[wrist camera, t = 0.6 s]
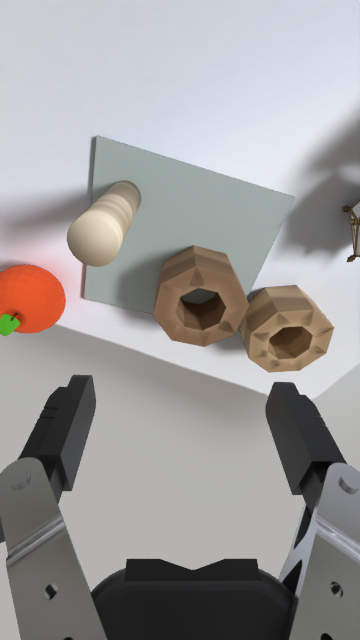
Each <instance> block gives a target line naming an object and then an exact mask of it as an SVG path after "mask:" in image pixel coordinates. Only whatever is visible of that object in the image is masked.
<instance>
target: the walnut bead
mask: <svg viewBox="0 0 360 640" xmlns="http://www.w3.org/2000/svg"><path fill="white" fill-rule="evenodd" d="M197 288H202V289H206V290H210V291H214V292H216V294H215V296H214V298H212V299H209V300H207V301H205V302H203V303H201V304H195V303H191V302H186V301H183V299H182V298H181V296H183V295H185V294H187V293H189V292H191V291H193V290H195V289H197ZM248 307H249V303H248V300H247V298H246V295H245V293H244V290H243V288H242V286H241V283H240V281H239V279H238V277H237V275H236V273H235V271H234V269H233V267H232V264H231V262H230V260H229V258H228V256H227V254H225V253H221V252H218V251H214V250H210V249H206V248H202V247H199V246H195V245H192V246H191V247H189V248H187V249H185V250H183V251H181V252H180V253H178V254H176V255H174V256H172V257H171V258H169V259H167V260H165V261H163V264H162V268H161V272H160V276H159V280H158V284H157V288H156V294H155V302H154V310H153V317H154V318H155V319H156V321H157V322H158V323H159V325H160V326H161V327H162V328H163V330H164V331H165V332H166V334H167V335H168V336H169V338H170V339H171V340H173V341H178V342H183V343H188V344H193V345H198V346H203V347H205V346H207V345H210V344H212V343H214V342H217V341H219V340H221V339H224V338H226V337H228V336H231V335H233V334H235V333H236V331H237V329H238V327H239V325H240V323H241V321H242V319H243V317H244V315H245V313H246V311H247V309H248Z"/></svg>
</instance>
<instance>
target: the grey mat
mask: <svg viewBox="0 0 360 640" xmlns="http://www.w3.org/2000/svg"><path fill="white" fill-rule="evenodd" d="M122 180H127V181H130V182H132V183H134V184H135V185H136V186H137V187H138V189H139V191H140V193H141V204H140V206H139V208H138V211H137V213H136V215H135V217H134V219H133V221H132V224H131V226H130V228H129V230H128V232H127V234H126V236H125V239H124V241H123V243H122V245H121V247H120V249H119V252H118V254H117V256H116V258H115V259H114V260H113V261H112V262H111V263H109V264H108V265H105V266H101V267H93V266H89V265H87V266H86V279H85V292H84V299H85V300H90V301H95V302H99V303H104V304H109V305H113V306H118V307H122V308H127V309H132V310H136V311H141V312H146V313H150V314H153V310H154V302H155V294H156V288H157V284H158V280H159V276H160V272H161V268H162V264H163V261H165V260H167V259H169V258H171V257H172V256H174V255H176V254H178V253H180V252H181V251H183V250H185V249H187V248H189V247H191V246H192V245H195V246H199V247H202V248H206V249H210V250H214V251H218V252H221V253H225V254H227V256H228V258H229V260H230V262H231V264H232V267H233V269H234V271H235V273H236V275H237V277H238V279H239V281H240V283H241V286H242V288H243V290H244V293H245V295H246V298H247V297H248V295H249V293H250V291H251V289H252V287H253V285H254V283H255V280H256V278H257V276H258V274H259V272H260V270H261V268H262V266H263V264H264V262H265V260H266V258H267V255H268V253H269V251H270V249H271V247H272V245H273V243H274V241H275V239H276V237H277V235H278V233H279V230H280V228H281V226H282V224H283V222H284V220H285V218H286V216H287V214H288V212H289V210H290V208H291V206H292V203H293V201H294V199H295V197H293V196H290V195H287V194H284V193H281V192H277V191H274V190H271V189H268V188H265V187H261V186H258V185H255V184H252V183H249V182H245V181H242V180H239V179H236V178H233V177H229V176H226V175H223V174H220V173H216V172H213V171H210V170H207V169H204V168H200V167H197V166H194V165H191V164H188V163H184V162H181V161H178V160H175V159H172V158H168V157H165V156H162V155H159V154H156V153H152V152H149V151H146V150H143V149H140V148H136V147H133V146H130V145H127V144H124V143H120V142H117V141H114V140H111V139H108V138H104V137H101V136H97V137H96V150H95V163H94V176H93V189H92V202H91V206H92V205H93V204H94V203H95V202H96V201H97V200H98V199H99V198H100V197H101V196H102V195H103V194H105V193H106V192H107V191H108V190H109V189H110V188H111V187H112V186H113V185H114V184H115V183H117V182H118V181H122ZM215 294H216V292H214V291H210V290H206V289H202V288H197V289H195V290H193V291H191V292H189V293H187V294H185V295H183V296H181V298H182V299H183V301H186V302H191V303H195V304H201V303H203V302H205V301H207V300H209V299H212V298H214V296H215Z"/></svg>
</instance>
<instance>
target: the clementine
mask: <svg viewBox="0 0 360 640" xmlns="http://www.w3.org/2000/svg"><path fill="white" fill-rule="evenodd" d="M65 302H66V299H65V293H64V289H63V287H62V285H61V283H60V282H59V281H58V279H57V278H56V277H55V276H54V275H52V274H51V273H50V272H48V271H46V270H45V269H43V268H40V267H37V266H33V265H19V266H13V267H10V268H9V269H7V270H5V271H3V272H1V273H0V334H1V335H3V336H6V335H9V334H10V333H12V332H13V331H15V332H19V333H36V332H40V331H43V330H45V329H47V328H49V327H51V326H52V325H54V324H55V323H56V322H57V321H58V320H59V319H60V317H61V315H62V313H63V311H64V308H65Z"/></svg>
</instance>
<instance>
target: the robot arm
mask: <svg viewBox="0 0 360 640" xmlns="http://www.w3.org/2000/svg"><path fill="white" fill-rule="evenodd" d="M95 408H96V398H95V391H94V384H93V377H92V376H91V375H73V376H72V377H71V380H70V382H69V384H68V386H67V387H59V388H57V389H56V390H55V391H54V392H53V393H52V394H51V395H50V397H49V398H48V400H47V402H46V404H45V406H44V410H42V413H41V414H40V418H39V419H38V421H37V423H36V425H35V427H34V429H33V431H32V433H31V435H30V437H29V439H28V441H27V443H26V445H25V447H24V449H23V451H22V453H21V455H20V457H19V458H18V459H17V461H15V462H13V463H11V464H10V465H8V466H7V467H6V468H5V469H4V470H3V471H2V472H1V473H0V543H1V542H4V541H6V546H7V551H8V557H7V559H6V566H7V573H8V578H9V583H10V588H11V593H12V598H13V603H14V607H15V612H16V618H17V623H18V627H19V632H20V637H21V640H360V472H359V471H358V470H356V469H355V468H353V467H352V466H350V465H348V464H347V463H346V461H345V460H344V458H343V456H342V454H341V452H340V450H339V448H338V447H337V445H336V443H335V441H334V440H333V437H332V435H331V434H330V432H329V430H328V428H327V427H326V426H325V425H326V424H325V423H324V421H323V419H322V418H321V415H320V413H319V412H318V410H317V408H316V406H315V404H314V403H313V402H312V401H311V400H310V399H309V398H308V397H307V396H306V395H300V394H299V392H298V390H297V388H296V386H295V385H294V383H292V382H274V384H273V386H272V389H271V392H270V395H269V397H268V400H267V403H266V418H267V421H268V424H269V427H270V430H271V433H272V436H273V439H274V442H275V445H276V448H277V451H278V454H279V457H280V460H281V463H282V465H283V468H284V471H285V474H286V477H287V480H288V483H289V486H290V489H291V492H292V495H303V497H304V500H305V504H304V507H303V510H302V513H301V516H300V519H299V523H298V526H297V529H296V533H295V536H294V539H293V542H292V546H291V549H290V552H289V554H288V557H287V559H286V561H285V563H284V565H283V568H282V570H281V573H280V576H279V579H276V578H275V577H273V576H272V575H270V574H269V573H267V572H265V571H263V570H261V569H258V564H257V559H224V560H221V561H218V562H215V563H213V564H210V565H207V566H204V567H202V568H199V569H196V570H190V569H187V568H184V567H181V566H178V565H175V564H172V563H169V562H167V561H164V560H161V559H127V562H126V568H124V569H122V570H119V571H117V572H115V573H113V574H112V575H110V576H109V577H107V578H106V579H104V580H103V581H102V582H101V583H100V584H99V585H97V586H96V587H95V588H94V589H93V591H92V592H90V589H89V586H88V584H87V581H86V578H85V576H84V573H83V571H82V568H81V565H80V562H79V560H78V557H77V554H76V552H75V549H74V547H73V544H72V541H71V539H70V536H69V533H68V530H67V528H66V525H65V522H64V520H63V517H62V514H61V512H60V509H59V507H58V503H59V500H60V497H61V494H62V491H72V488H73V484H74V481H75V477H76V474H77V471H78V467H79V464H80V461H81V457H82V454H83V450H84V447H85V444H86V440H87V437H88V433H89V430H90V427H91V423H92V420H93V417H94V413H95Z"/></svg>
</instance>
